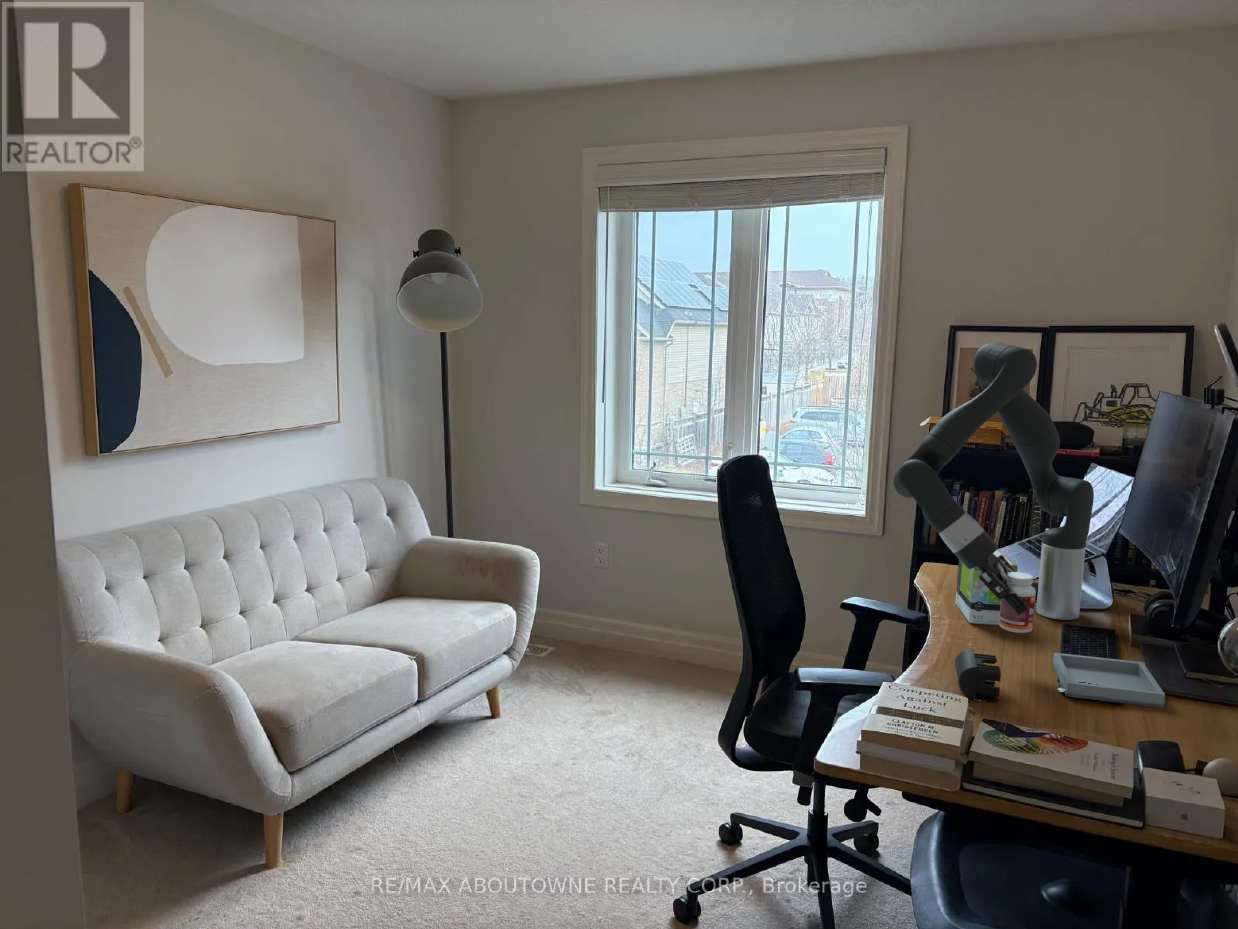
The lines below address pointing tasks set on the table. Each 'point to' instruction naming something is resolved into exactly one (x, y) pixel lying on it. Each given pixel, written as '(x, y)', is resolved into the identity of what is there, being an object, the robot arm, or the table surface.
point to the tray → (1108, 680)
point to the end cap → (978, 675)
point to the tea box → (978, 595)
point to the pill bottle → (1027, 594)
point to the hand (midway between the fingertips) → (1026, 606)
